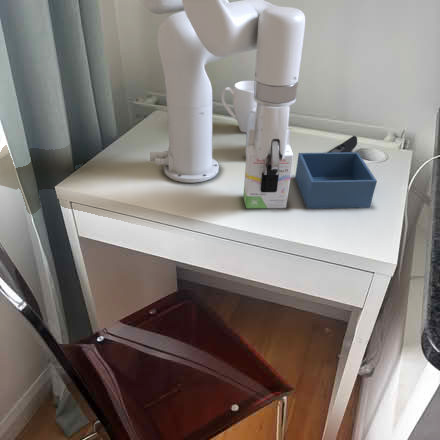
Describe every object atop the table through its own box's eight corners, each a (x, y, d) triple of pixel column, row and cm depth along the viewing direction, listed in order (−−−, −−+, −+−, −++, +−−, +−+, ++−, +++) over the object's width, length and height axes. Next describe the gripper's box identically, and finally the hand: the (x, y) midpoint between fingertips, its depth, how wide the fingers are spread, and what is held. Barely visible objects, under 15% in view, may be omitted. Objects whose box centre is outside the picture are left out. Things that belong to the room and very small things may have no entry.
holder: (307, 208, 93) (311, 182, 89) (295, 178, 103) (298, 152, 99) (369, 207, 94) (377, 181, 90) (352, 177, 104) (357, 152, 100)
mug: (267, 127, 124) (271, 83, 117) (256, 138, 119) (259, 93, 111) (227, 119, 128) (228, 76, 120) (215, 130, 122) (215, 85, 115)
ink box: (245, 209, 92) (249, 139, 83) (243, 197, 96) (246, 128, 86) (287, 208, 93) (296, 138, 83) (283, 196, 96) (292, 128, 87)
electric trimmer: (359, 149, 115) (362, 137, 113) (331, 170, 106) (334, 157, 104) (346, 145, 117) (348, 133, 115) (317, 165, 108) (319, 152, 105)
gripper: (248, 75, 86) (243, 165, 98) (260, 108, 73) (253, 207, 85) (287, 75, 86) (278, 165, 98) (306, 108, 73) (292, 206, 86)
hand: (266, 183), depth 91 cm, fingers closed on ink box, 5 cm apart
